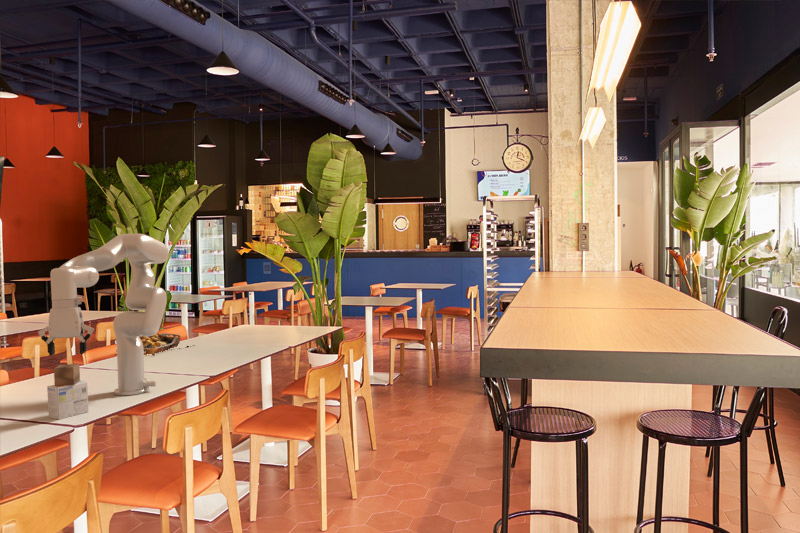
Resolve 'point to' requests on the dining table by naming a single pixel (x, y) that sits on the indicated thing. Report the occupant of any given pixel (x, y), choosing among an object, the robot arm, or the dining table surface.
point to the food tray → (159, 343)
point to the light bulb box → (67, 400)
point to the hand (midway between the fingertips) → (67, 354)
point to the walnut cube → (66, 374)
